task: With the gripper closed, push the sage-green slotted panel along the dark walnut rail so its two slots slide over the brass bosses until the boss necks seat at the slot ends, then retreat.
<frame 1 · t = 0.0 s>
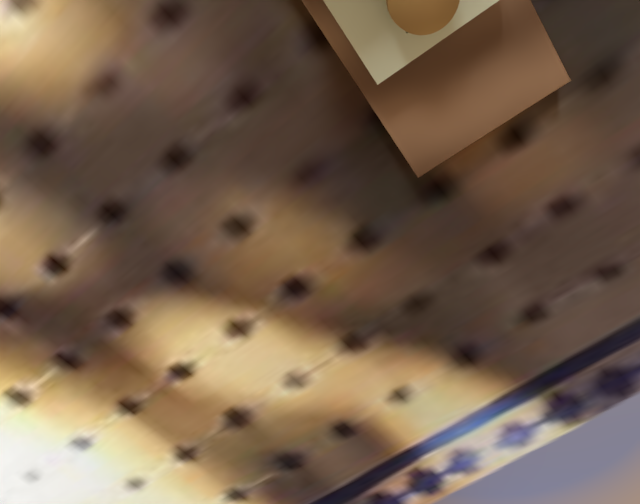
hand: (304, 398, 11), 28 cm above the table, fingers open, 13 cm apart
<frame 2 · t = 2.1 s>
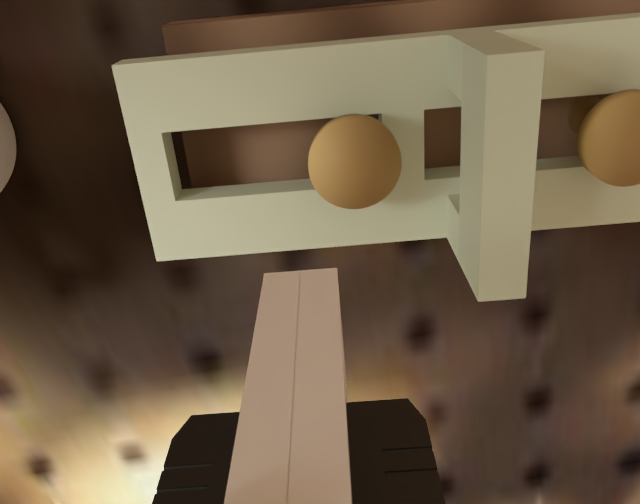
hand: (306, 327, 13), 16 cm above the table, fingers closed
rail: (479, 113, 27), on the table
panel: (410, 162, 21), point 6 cm above the table, slide at 0.0 cm
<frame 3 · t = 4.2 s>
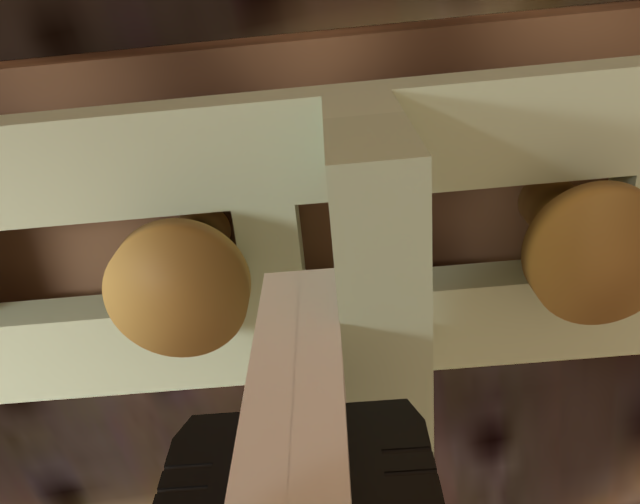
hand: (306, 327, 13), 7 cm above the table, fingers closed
rail: (398, 188, 19), on the table
panel: (264, 294, 14), point 6 cm above the table, slide at 0.1 cm, touching gripper
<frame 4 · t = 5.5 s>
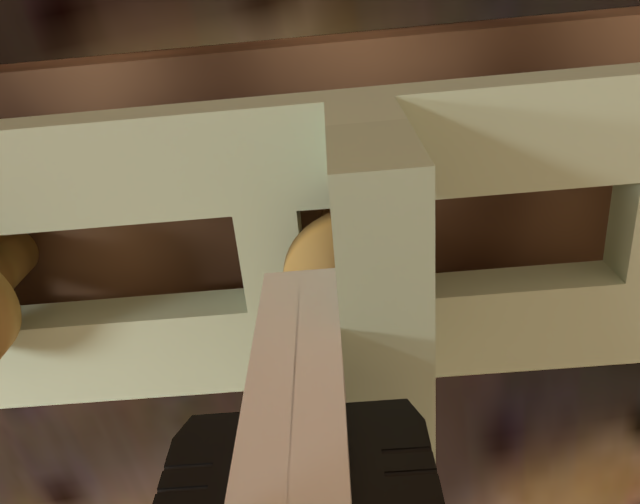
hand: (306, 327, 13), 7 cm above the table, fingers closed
rail: (221, 208, 19), on the table
panel: (265, 301, 14), point 6 cm above the table, slide at 5.9 cm, touching gripper
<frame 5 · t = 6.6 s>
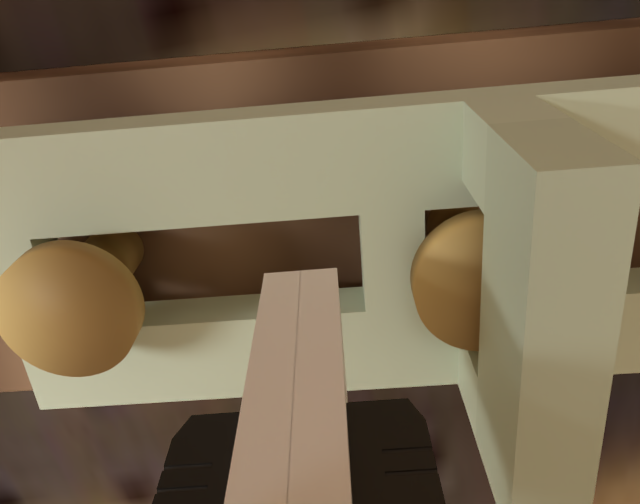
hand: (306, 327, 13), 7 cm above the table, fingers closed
rail: (318, 208, 19), on the table
panel: (402, 300, 14), point 6 cm above the table, slide at 6.0 cm
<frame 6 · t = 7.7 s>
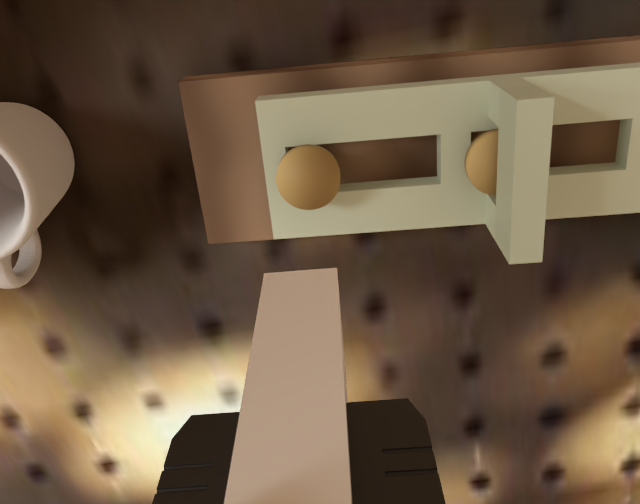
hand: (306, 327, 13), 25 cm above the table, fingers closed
rail: (409, 141, 36), on the table
cup: (35, 172, 38), on the table
panel: (462, 168, 31), point 6 cm above the table, slide at 6.0 cm
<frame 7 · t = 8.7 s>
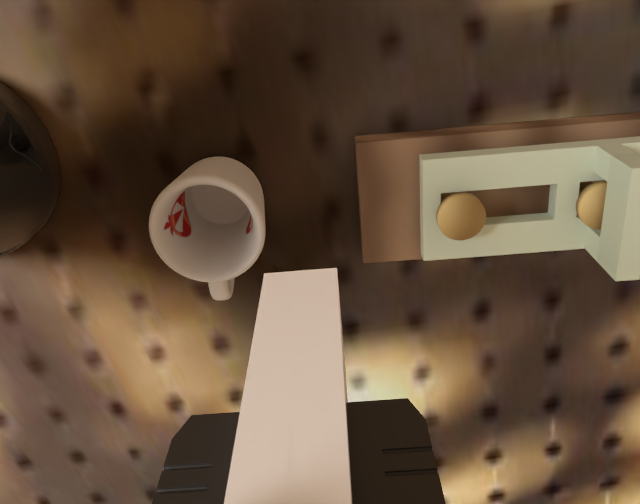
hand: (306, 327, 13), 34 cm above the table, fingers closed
rail: (521, 183, 47), on the table
cup: (225, 207, 49), on the table
panel: (577, 210, 42), point 6 cm above the table, slide at 6.0 cm
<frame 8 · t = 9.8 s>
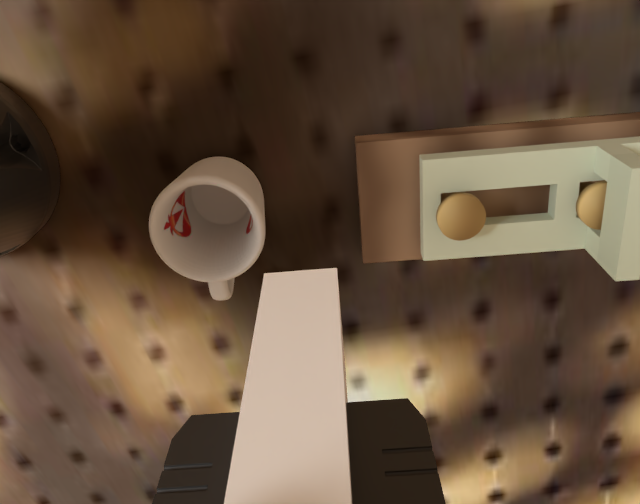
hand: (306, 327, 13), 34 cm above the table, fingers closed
rail: (521, 183, 47), on the table
cup: (225, 207, 49), on the table
panel: (577, 210, 42), point 6 cm above the table, slide at 6.0 cm
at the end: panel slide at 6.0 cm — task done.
